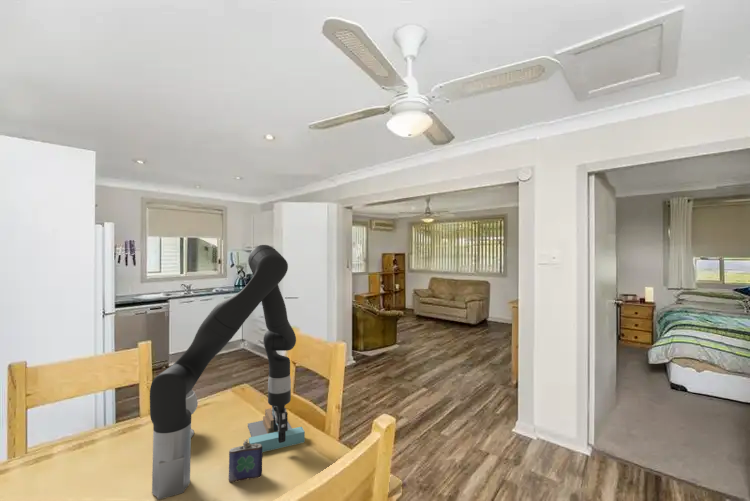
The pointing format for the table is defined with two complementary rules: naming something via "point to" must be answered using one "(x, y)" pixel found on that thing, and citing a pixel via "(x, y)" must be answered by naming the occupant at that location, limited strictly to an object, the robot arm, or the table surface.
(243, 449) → the flask
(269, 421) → the fulcrum
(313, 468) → the table surface
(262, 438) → the batten
